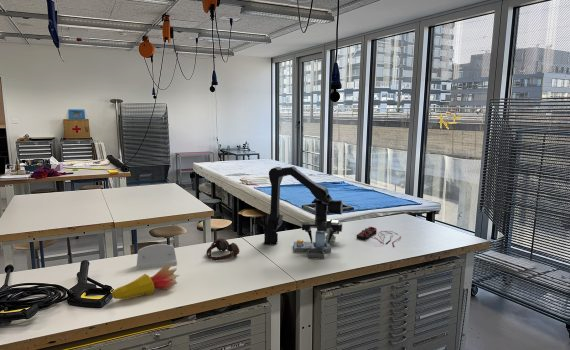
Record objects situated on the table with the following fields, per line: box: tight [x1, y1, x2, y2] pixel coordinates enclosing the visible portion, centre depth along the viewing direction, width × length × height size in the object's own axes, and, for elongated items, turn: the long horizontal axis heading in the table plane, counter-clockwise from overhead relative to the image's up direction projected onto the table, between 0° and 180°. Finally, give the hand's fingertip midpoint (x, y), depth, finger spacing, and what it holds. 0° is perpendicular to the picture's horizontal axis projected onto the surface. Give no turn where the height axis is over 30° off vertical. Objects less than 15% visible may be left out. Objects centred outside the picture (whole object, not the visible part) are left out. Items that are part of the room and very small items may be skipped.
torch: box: [111, 262, 181, 300], centre depth 140 cm, size 8×8×25 cm
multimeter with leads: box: [356, 226, 401, 248], centre depth 210 cm, size 23×4×25 cm
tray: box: [306, 249, 325, 260], centre depth 181 cm, size 7×7×2 cm
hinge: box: [136, 243, 178, 271], centre depth 167 cm, size 17×5×10 cm, turn 111°
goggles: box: [205, 237, 240, 261], centre depth 178 cm, size 15×13×10 cm
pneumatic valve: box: [325, 218, 343, 243], centre depth 203 cm, size 6×12×12 cm, turn 76°
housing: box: [293, 241, 332, 254], centre depth 190 cm, size 18×10×2 cm, turn 90°
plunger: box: [296, 239, 304, 246], centre depth 190 cm, size 3×3×4 cm
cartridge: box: [314, 230, 326, 247], centre depth 190 cm, size 5×5×9 cm
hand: (320, 243), depth 190 cm, fingers open, 8 cm apart
